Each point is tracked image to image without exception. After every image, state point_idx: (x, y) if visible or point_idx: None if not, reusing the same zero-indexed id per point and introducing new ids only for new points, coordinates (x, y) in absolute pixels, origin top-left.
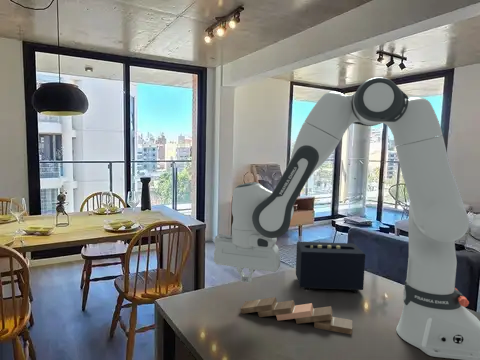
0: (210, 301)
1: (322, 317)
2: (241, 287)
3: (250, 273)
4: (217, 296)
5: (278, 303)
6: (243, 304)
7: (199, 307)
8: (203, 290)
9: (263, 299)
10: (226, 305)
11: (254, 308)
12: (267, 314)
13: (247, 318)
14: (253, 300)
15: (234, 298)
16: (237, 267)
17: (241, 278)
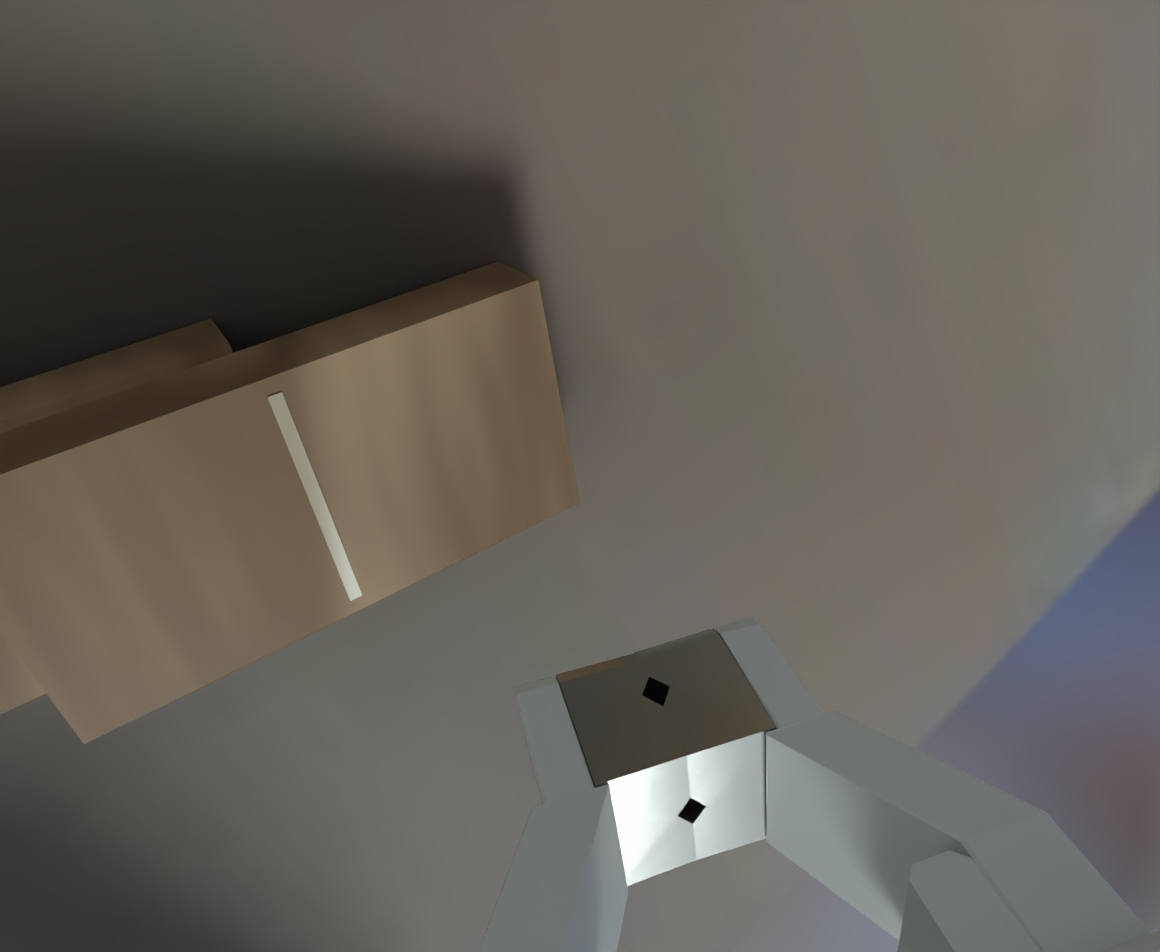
0: (1008, 314)
1: None
2: None
3: (551, 935)
4: (962, 464)
5: (1, 665)
6: (557, 414)
7: (1106, 79)
8: (1143, 483)
9: (292, 620)
10: (788, 342)
11: (295, 355)
12: (56, 379)
13: (343, 181)
14: (461, 553)
15: (764, 540)
16: (1122, 918)
17: (767, 670)
